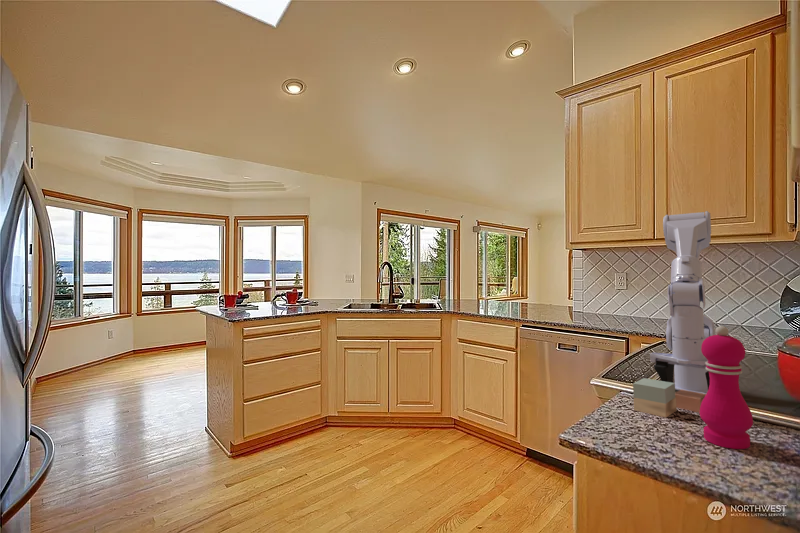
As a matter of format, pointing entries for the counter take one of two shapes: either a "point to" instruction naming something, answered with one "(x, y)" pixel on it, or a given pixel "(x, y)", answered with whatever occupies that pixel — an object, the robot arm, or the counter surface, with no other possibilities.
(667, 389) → the middle block
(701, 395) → the terracotta block
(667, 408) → the base block
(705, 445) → the counter surface
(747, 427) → the pepper mill
